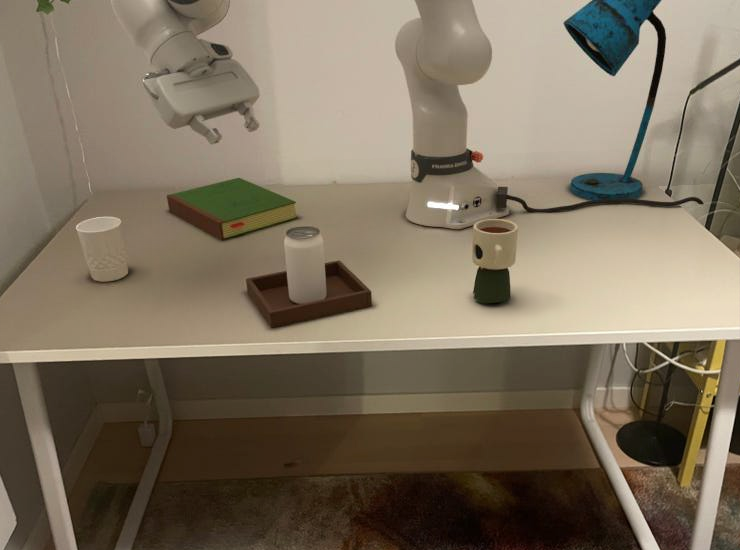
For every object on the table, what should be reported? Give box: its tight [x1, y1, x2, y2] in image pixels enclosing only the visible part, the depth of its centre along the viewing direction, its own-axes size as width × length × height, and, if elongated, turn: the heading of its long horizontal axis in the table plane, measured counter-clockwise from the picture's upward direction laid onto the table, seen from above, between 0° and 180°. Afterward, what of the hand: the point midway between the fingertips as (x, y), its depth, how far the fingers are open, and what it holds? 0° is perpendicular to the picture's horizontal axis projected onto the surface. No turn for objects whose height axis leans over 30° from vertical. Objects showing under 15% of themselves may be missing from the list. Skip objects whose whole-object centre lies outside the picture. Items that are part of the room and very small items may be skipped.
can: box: [283, 225, 326, 304], centre depth 125 cm, size 6×6×12 cm
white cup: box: [75, 216, 129, 283], centre depth 138 cm, size 8×8×10 cm
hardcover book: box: [166, 177, 298, 241], centre depth 166 cm, size 25×19×4 cm
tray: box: [245, 260, 373, 329], centre depth 128 cm, size 18×15×3 cm
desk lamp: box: [563, 0, 667, 201], centre depth 161 cm, size 16×22×45 cm
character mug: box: [471, 218, 519, 304], centre depth 123 cm, size 11×7×13 cm, turn 179°
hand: (236, 135), depth 121 cm, fingers open, 8 cm apart
